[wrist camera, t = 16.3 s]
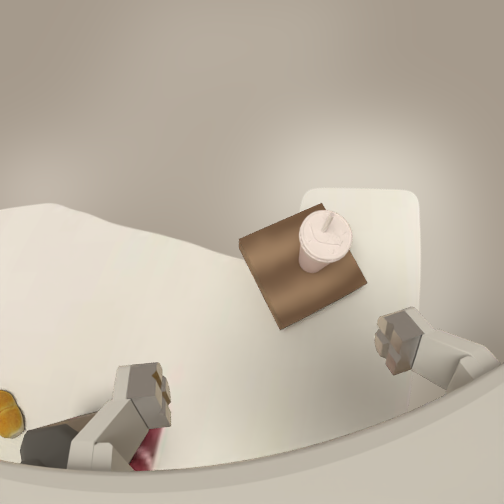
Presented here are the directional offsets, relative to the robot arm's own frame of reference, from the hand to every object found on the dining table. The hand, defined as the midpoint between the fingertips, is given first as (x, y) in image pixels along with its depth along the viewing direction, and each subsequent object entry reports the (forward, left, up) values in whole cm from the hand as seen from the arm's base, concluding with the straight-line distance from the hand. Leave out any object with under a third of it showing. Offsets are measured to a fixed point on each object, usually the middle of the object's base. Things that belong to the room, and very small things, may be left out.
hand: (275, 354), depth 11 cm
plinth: (+8, -13, -36) cm, 39 cm away
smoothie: (+8, -14, -33) cm, 36 cm away
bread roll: (+5, +45, -37) cm, 59 cm away
